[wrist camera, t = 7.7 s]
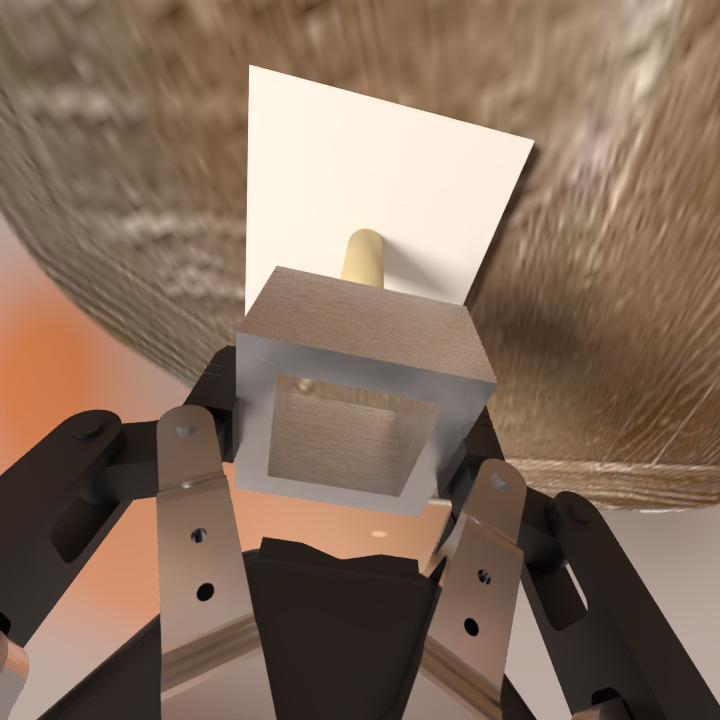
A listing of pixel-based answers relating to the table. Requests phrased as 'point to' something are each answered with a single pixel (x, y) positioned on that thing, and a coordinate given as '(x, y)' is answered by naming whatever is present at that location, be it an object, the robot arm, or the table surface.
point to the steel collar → (359, 370)
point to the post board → (370, 189)
